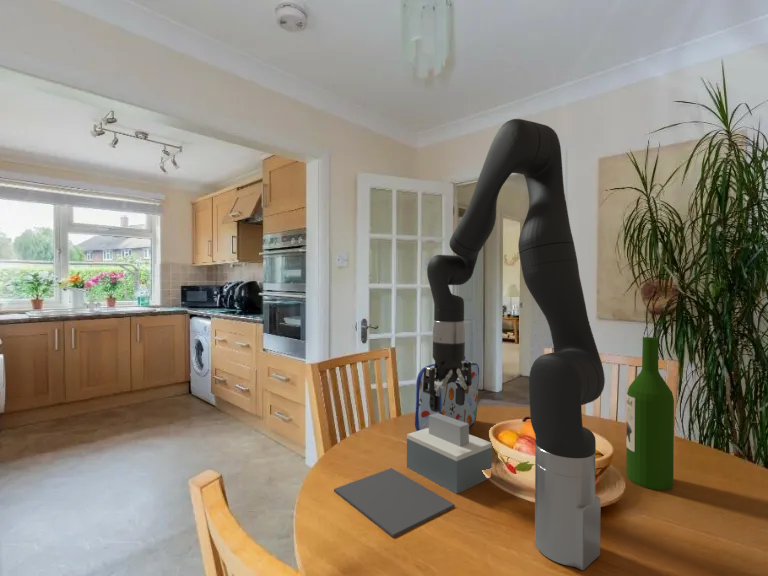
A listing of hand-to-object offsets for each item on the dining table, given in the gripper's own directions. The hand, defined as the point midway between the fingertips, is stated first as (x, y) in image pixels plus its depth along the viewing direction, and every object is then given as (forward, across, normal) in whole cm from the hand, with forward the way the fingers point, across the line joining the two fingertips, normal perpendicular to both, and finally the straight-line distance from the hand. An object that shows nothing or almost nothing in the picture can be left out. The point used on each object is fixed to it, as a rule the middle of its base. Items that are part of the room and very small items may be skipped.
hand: (447, 407), depth 95 cm
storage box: (+15, 0, 0) cm, 15 cm away
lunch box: (+16, +21, +19) cm, 32 cm away
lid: (+9, 0, 0) cm, 9 cm away
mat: (+15, -18, -1) cm, 24 cm away
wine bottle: (+15, +33, -31) cm, 48 cm away
